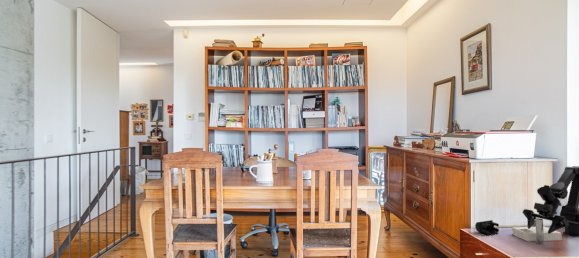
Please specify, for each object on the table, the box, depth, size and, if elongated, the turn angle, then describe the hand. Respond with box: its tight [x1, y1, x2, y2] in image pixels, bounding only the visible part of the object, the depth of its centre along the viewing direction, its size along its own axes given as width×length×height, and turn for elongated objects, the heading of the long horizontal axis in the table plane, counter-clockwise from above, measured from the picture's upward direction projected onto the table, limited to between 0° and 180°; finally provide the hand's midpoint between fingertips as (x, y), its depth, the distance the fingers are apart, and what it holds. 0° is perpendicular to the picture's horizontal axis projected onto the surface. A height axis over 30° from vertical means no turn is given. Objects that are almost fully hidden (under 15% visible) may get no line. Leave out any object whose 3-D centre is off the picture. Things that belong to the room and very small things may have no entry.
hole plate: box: [511, 226, 563, 242], centre depth 168 cm, size 18×11×4 cm, turn 89°
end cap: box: [474, 219, 500, 237], centre depth 177 cm, size 10×7×7 cm
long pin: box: [535, 218, 545, 245], centre depth 159 cm, size 3×3×12 cm
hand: (538, 230), depth 159 cm, fingers open, 9 cm apart
